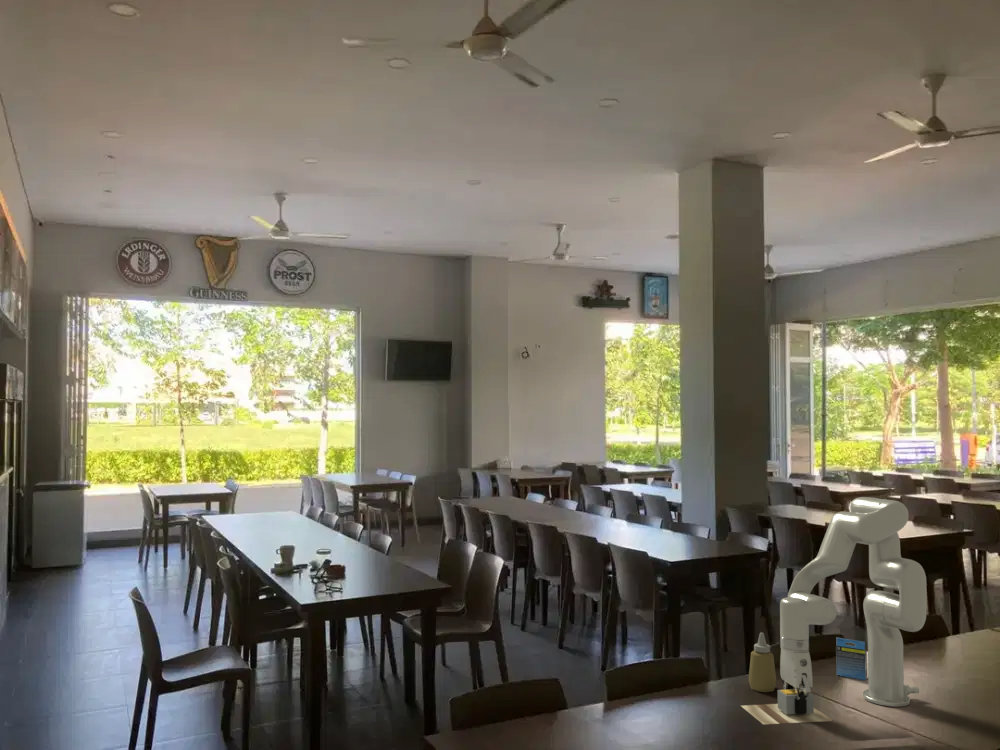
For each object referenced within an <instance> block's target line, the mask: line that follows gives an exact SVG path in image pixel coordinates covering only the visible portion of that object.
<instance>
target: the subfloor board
mask: <svg viewBox="0 0 1000 750" xmlns="http://www.w3.org/2000/svg"><path fill="white" fill-rule="evenodd" d="M740 707H742V709H744V710H745V712H748V714H750V715H751V716H752V717H754V718H755V720H757V721H759V722H760V723H761V724H762V725H763V726H764V725H780V724H782V725H783V724H795V723H796V724H798V723H800V724H801V723H816V722H818V723H819V722H832V721H833V720H832V718H830V717H829V716H827V715H825V714H824V713H822V712H821V711H820V710H818V709H816V708H815V707H814V713H806V714H787V715H786V714H785V713H784V712H782V711H781V710H780V709H778V703H767V704H748V705H747V704H746V705H740Z"/></svg>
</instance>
